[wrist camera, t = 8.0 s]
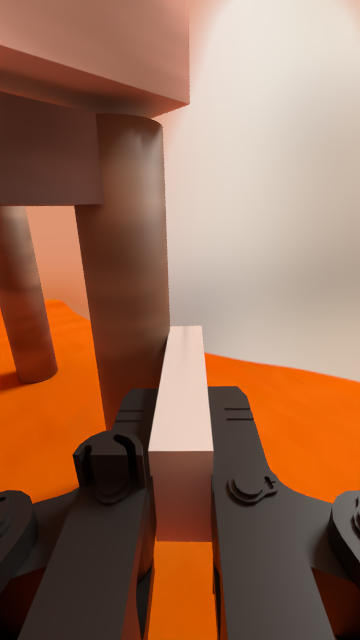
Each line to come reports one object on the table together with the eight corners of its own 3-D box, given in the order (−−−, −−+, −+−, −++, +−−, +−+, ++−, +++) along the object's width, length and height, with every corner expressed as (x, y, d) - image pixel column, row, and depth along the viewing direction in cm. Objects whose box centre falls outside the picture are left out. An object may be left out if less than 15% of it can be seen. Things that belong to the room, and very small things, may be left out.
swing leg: (-86, 732, 7) (-811, -130, 2) (-97, 623, 9) (-482, 39, 4) (188, 474, 14) (182, 127, 9) (148, 443, 16) (124, 143, 11)
